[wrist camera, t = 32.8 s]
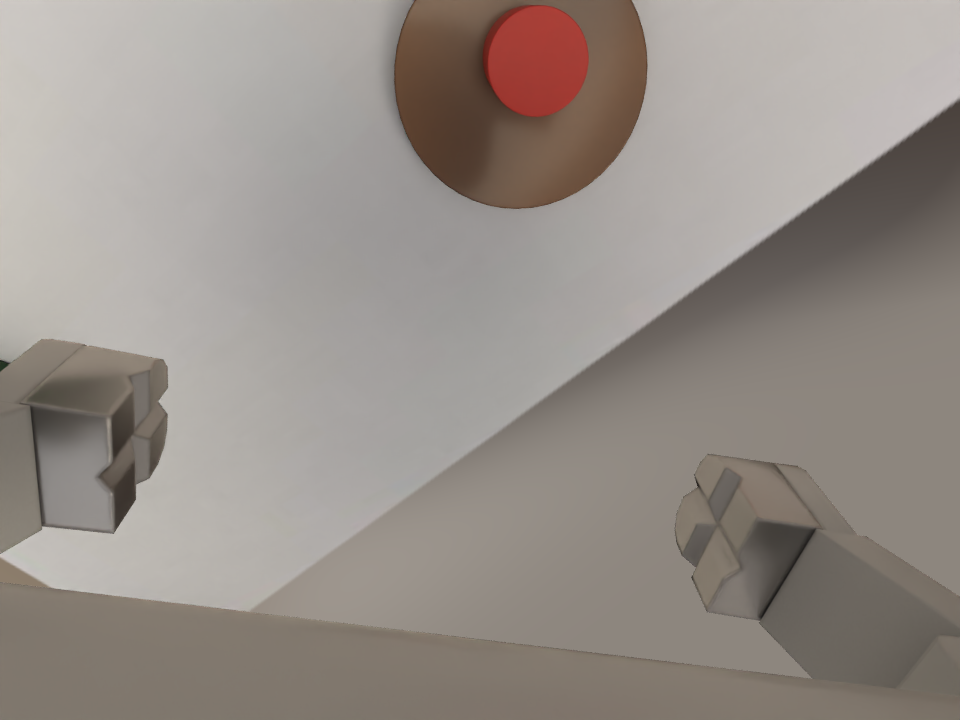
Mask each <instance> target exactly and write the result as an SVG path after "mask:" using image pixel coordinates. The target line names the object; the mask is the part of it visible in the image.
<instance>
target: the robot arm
mask: <svg viewBox="0 0 960 720" xmlns="http://www.w3.org/2000/svg"><path fill="white" fill-rule="evenodd" d="M167 388H168V368H167V365H166V363H165V362H164V360H163V359H158V358H153V357H147V356H142V355H137V354H132V353H126V352H121V351H116V350H111V349H105V348H100V347H95V346H87V345H85V344H81V343H74V342H68V341H61V340H55V339H41V340H40V341H38V342H37V343H36V344H35V345H33V346H32V347H31V348H30V349H28V350H27V351H26V352H25V353H23V354H22V355H21V356H20V357H18V358H17V359H16V360H14V361H13V362H12V363H11V364H9V365H8V366H7V367H6V368H4V369H3V370H2V371H1V372H0V554H1V553H3V552H4V551H6V550H8V549H9V548H11V547H13V546H15V545H16V544H18V543H20V542H21V541H23V540H25V539H27V538H28V537H30V536H32V535H34V534H35V533H37V532H39V531H40V530H42V526H46V527H55V528H64V529H74V530H83V531H93V532H102V533H112V534H114V532H115V531H116V529H117V528H118V526H119V525H120V523H121V522H122V520H123V518H124V517H125V515H126V514H127V512H128V511H129V509H130V508H131V506H132V505H133V503H134V502H135V500H136V484H138V483H140V482H142V481H144V480H147V479H149V478H150V476H151V475H152V473H153V471H154V470H155V468H156V467H157V465H158V462H159V460H160V457H161V454H162V451H163V448H164V445H165V439H166V433H167V417H168V414H167V413H166V412H165V410H164V409H163V408H162V406H161V405H160V404H159V402H158V401H159V399H160V398H161V397H162V395H163V394H164V392H165V391H166V390H167ZM694 476H695V479H696V483H697V486H698V487H697V488H696V489H694V490H693V491H691V492H690V493H688V494H687V495H685V496H684V497H683V499H682V501H681V504H680V506H679V509H678V511H677V514H676V523H675V535H676V542H677V545H678V547H679V550H680V552H681V555H682V556H683V557H684V558H685V559H687V560H688V561H689V562H690V563H691V564H692V565H694V566H695V567H696V569H695V571H694V573H693V575H692V580H693V582H694V584H695V586H696V589H697V591H698V593H699V595H700V598H701V600H702V602H703V604H704V607H705V609H706V611H707V612H709V613H715V614H722V615H728V616H734V617H740V618H746V619H753V620H759V621H760V622H759V623H760V625H761V626H762V627H763V628H765V630H766V631H767V632H768V633H769V634H770V635H771V636H772V637H773V638H774V639H775V640H776V641H777V642H778V643H779V644H780V645H781V646H782V647H783V648H784V649H785V650H786V652H787V653H788V654H789V655H790V656H791V657H792V658H793V659H794V660H795V661H796V662H797V663H798V664H799V665H800V666H801V667H802V668H803V669H804V670H805V671H806V672H807V673H808V674H809V675H810V676H811V677H812V678H813V679H810V678H801V677H793V676H785V675H776V674H768V673H760V672H751V671H742V670H734V669H726V668H718V667H709V666H700V665H692V664H684V663H676V662H667V661H659V660H650V659H641V658H634V657H625V656H616V655H608V654H599V653H592V652H583V651H575V650H566V649H558V648H549V647H540V646H532V645H523V644H515V643H506V642H497V641H490V640H481V639H473V638H464V637H456V636H448V635H439V634H431V633H422V632H413V631H405V630H397V629H389V628H380V627H372V626H363V625H355V624H346V623H338V622H330V621H322V620H313V619H305V618H297V617H288V616H280V615H271V614H263V613H255V612H246V611H238V610H229V609H221V608H213V607H204V606H196V605H187V604H179V603H171V602H162V601H154V600H145V599H137V598H129V597H120V596H112V595H103V594H95V593H87V592H78V591H70V590H61V589H53V588H45V587H36V586H28V585H19V584H11V583H3V582H0V720H960V596H958V595H956V594H955V593H953V592H952V591H950V590H949V589H947V588H946V587H944V586H942V585H941V584H939V583H938V582H936V581H935V580H933V579H932V578H930V577H928V576H927V575H925V574H923V573H922V572H921V571H919V570H917V569H916V568H915V567H913V566H911V565H910V564H908V563H907V562H905V561H904V560H902V559H900V558H899V557H897V556H896V555H894V554H893V553H891V552H890V551H888V550H887V549H885V548H883V547H882V546H880V545H879V544H877V543H876V542H874V541H873V540H871V539H869V538H868V537H865V536H859V535H857V534H856V533H855V531H854V530H853V529H852V528H851V526H850V525H849V524H848V523H847V522H846V520H845V519H844V518H843V516H842V515H841V514H840V513H839V511H838V510H837V509H836V508H835V506H834V505H833V504H832V503H831V501H830V500H829V499H828V498H827V496H826V495H825V494H824V493H823V491H822V490H821V489H820V488H819V486H818V485H817V484H816V483H815V482H814V480H813V479H812V478H811V476H810V475H809V474H808V473H807V472H806V470H804V469H802V468H799V467H798V466H793V465H785V464H778V463H777V464H776V463H770V462H762V461H755V460H748V459H741V458H734V457H728V456H721V455H713V454H708V455H706V456H705V458H704V459H703V460H702V461H701V462H700V464H699V466H698V467H697V470H696V472H695V474H694Z"/></svg>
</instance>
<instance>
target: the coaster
mask: <svg viewBox="0 0 960 720" xmlns="http://www.w3.org/2000/svg"><path fill="white" fill-rule="evenodd" d="M525 5H546V6H551V7H554V8H557V9H560V10H561V11H563V12H565V13H566V14H568V15H569V16H570V17H571V18H572V19H573V20H574V21H575V22H576V23H577V24H578V26H579V27H580V29H581V30H582V32H583V34H584V37H585V39H586V43H587V47H588V54H589V62H588V70H587V74H586V78H585V81H584V83H583V85H582V87H581V89H580V91H579V92H578V94H577V95H576V96H575V98H574V99H573V100H572V101H571V102H570V103H569V104H568V105H567V106H565V107H564V108H563V109H561V110H559V111H557V112H555V113H553V114H550V115H547V116H541V117H530V116H524V115H521V114H518V113H516V112H514V111H512V110H511V109H509V108H508V107H507V106H506V105H504V104H503V103H502V102H501V100H500V99H499V98H498V97H497V95H496V94H495V92H494V90H493V89H492V87H491V85H490V84H489V82H488V80H487V78H486V75H485V72H484V67H483V48H484V43H485V40H486V37H487V35H488V33H489V31H490V29H491V27H492V26H493V25H494V23H495V22H496V21H497V20H498V19H499V18H500V17H501V16H502V15H503V14H505V13H506V12H508V11H509V10H511V9H514V8H516V7H520V6H525ZM646 80H647V52H646V44H645V38H644V33H643V29H642V26H641V22H640V19H639V16H638V13H637V11H636V9H635V7H634V4H633V2H632V0H415V1H414V2H413V4H412V6H411V8H410V10H409V11H408V14H407V17H406V19H405V22H404V24H403V27H402V29H401V33H400V37H399V41H398V45H397V50H396V58H395V71H394V84H395V93H396V102H397V106H398V110H399V114H400V118H401V121H402V124H403V126H404V129H405V132H406V134H407V136H408V138H409V140H410V142H411V144H412V146H413V148H414V150H415V151H416V153H417V154H418V156H419V157H420V158H421V160H422V161H423V163H424V164H425V165H426V166H427V167H428V168H429V169H430V171H431V172H432V173H433V174H434V175H435V176H436V177H437V178H439V179H440V180H441V181H442V182H443V183H444V184H446V185H447V186H448V187H450V188H451V189H453V190H454V191H456V192H457V193H459V194H461V195H463V196H465V197H467V198H469V199H471V200H474V201H477V202H480V203H483V204H486V205H490V206H495V207H500V208H512V209H521V208H533V207H538V206H543V205H548V204H551V203H554V202H556V201H559V200H562V199H564V198H566V197H568V196H570V195H572V194H575V193H576V192H578V191H579V190H581V189H583V188H584V187H586V186H587V185H589V184H590V183H591V182H592V181H594V180H595V179H596V178H597V177H598V176H600V175H601V174H602V173H603V172H604V171H605V170H606V169H607V168H608V167H609V165H610V164H611V163H612V162H613V161H614V160H615V158H616V157H617V156H618V154H619V153H620V152H621V150H622V149H623V147H624V146H625V144H626V142H627V140H628V139H629V137H630V135H631V133H632V131H633V129H634V126H635V124H636V122H637V119H638V117H639V113H640V110H641V107H642V103H643V99H644V94H645V88H646Z"/></svg>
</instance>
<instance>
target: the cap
mask: <svg viewBox="0 0 960 720" xmlns="http://www.w3.org/2000/svg"><path fill="white" fill-rule="evenodd" d="M588 62H589V54H588V47H587V43H586V39H585V37H584V34H583V32H582V30H581V29H580V27H579V26H578V24H577V23H576V22H575V21H574V20H573V19H572V18H571V17H570V16H569V15H568V14H566V13H565V12H563V11H561V10H560V9H557V8H554V7H551V6H546V5H525V6H520V7H516V8H514V9H511V10H509V11H508V12H506V13H505V14H503V15H502V16H501V17H500V18H499V19H498V20H497V21H496V22H495V23H494V25H493V26H492V27H491V29H490V31H489V33H488V35H487V37H486V40H485V43H484V48H483V67H484V72H485V75H486V78H487V80H488V82H489V84H490V85H491V87H492V89H493V90H494V92H495V94H496V95H497V97H498V98H499V99H500V100H501V102H502V103H503V104H504V105H506V106H507V107H508V108H509V109H511V110H512V111H514V112H516V113H518V114H521V115H524V116H530V117H541V116H547V115H550V114H553V113H555V112H557V111H559V110H561V109H563V108H564V107H565V106H567V105H568V104H569V103H570V102H571V101H572V100H573V99H574V98H575V96H576V95H577V94H578V92H579V91H580V89H581V87H582V85H583V83H584V81H585V78H586V74H587V70H588Z"/></svg>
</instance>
